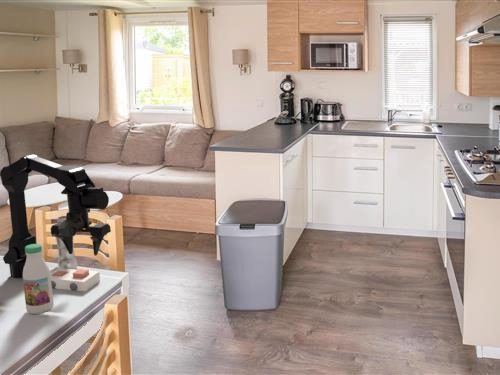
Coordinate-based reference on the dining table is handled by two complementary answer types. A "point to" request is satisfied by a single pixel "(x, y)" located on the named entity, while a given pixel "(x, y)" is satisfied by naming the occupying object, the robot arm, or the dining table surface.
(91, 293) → the dining table surface
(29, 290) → the milk bottle
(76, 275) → the outer button
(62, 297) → the dining table surface
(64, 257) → the plastic bottle
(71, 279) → the switch panel
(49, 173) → the robot arm
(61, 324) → the dining table surface
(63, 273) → the inner button
